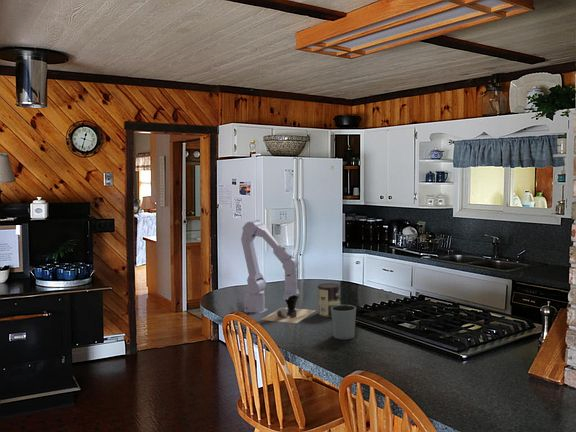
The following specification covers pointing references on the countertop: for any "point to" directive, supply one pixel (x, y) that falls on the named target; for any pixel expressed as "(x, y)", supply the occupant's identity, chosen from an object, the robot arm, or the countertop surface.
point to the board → (289, 316)
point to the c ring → (290, 312)
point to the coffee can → (328, 298)
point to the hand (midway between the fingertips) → (291, 311)
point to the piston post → (284, 312)
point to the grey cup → (343, 321)
